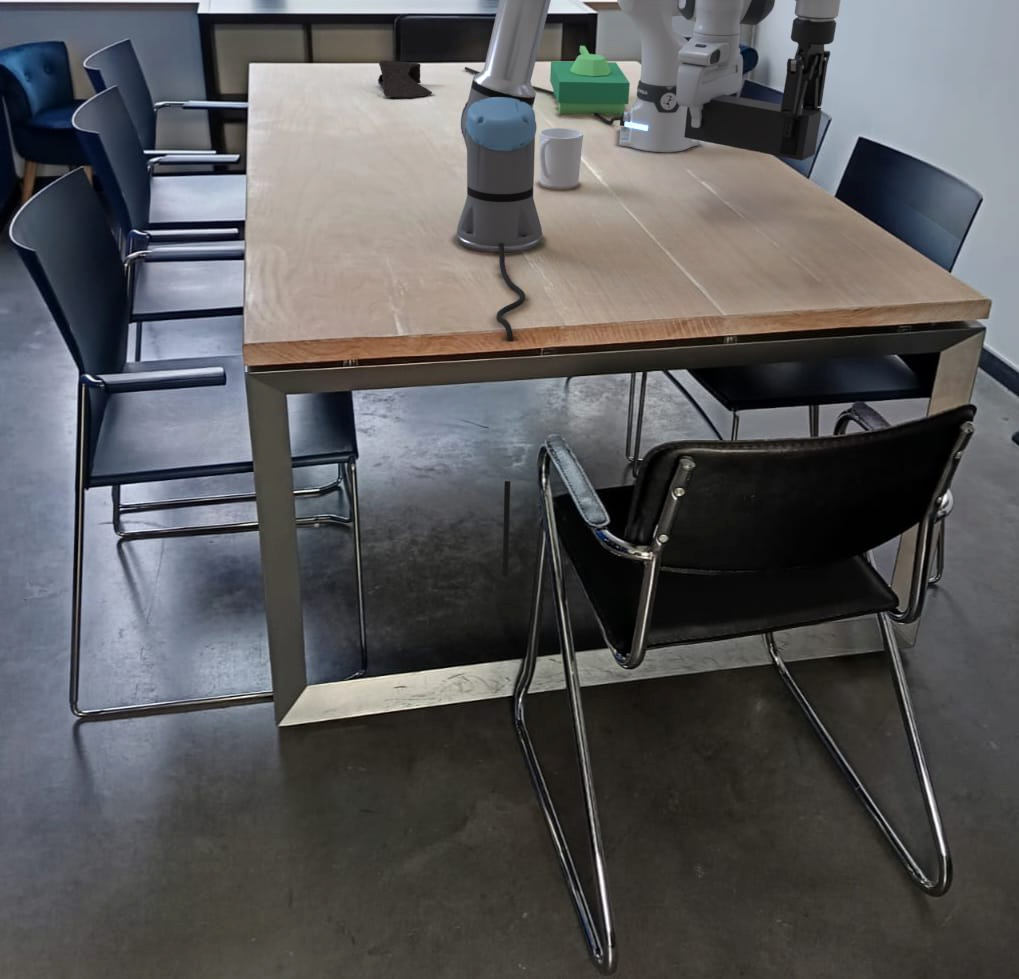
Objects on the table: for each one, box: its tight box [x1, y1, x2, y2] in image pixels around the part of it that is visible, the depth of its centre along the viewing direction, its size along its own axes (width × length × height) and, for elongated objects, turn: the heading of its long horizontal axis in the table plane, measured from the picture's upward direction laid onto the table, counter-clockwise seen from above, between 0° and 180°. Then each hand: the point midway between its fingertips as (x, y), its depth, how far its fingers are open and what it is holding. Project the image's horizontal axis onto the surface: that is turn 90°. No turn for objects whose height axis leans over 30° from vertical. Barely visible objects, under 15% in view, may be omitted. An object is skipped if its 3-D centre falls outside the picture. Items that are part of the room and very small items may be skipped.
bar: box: [684, 95, 823, 161], centre depth 209 cm, size 25×6×8 cm, turn 53°
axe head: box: [377, 59, 433, 99], centre depth 299 cm, size 18×8×15 cm
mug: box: [538, 127, 584, 190], centre depth 223 cm, size 11×9×10 cm
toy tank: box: [549, 45, 631, 116], centre depth 289 cm, size 18×12×35 cm
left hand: (794, 150), depth 206 cm, fingers closed on bar, 6 cm apart
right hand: (706, 123), depth 214 cm, fingers open, 6 cm apart
